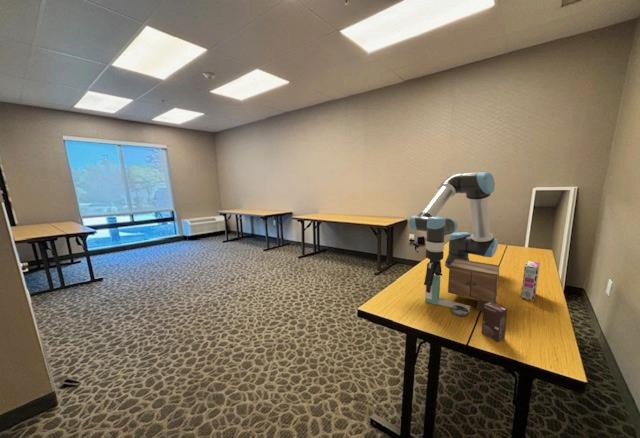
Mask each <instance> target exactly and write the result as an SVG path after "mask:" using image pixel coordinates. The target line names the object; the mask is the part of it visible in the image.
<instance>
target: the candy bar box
mask: <svg viewBox="0 0 640 438" xmlns="http://www.w3.org/2000/svg"><path fill="white" fill-rule="evenodd" d="M540 264H541V263H540V262H536V261H532V260H531V261H530V260H527V261H526V263H525V265H524V272H523V278H522V279H523V280H522V285H521V286H522V287H521V296H520V298H521V299H524V300H527V301H531V302H534V300H535V297H536V294H537V286H538V281H539V271H540V266H541V265H540Z"/></svg>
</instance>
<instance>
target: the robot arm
mask: <svg viewBox="0 0 640 438" xmlns="http://www.w3.org/2000/svg"><path fill="white" fill-rule="evenodd" d="M494 178H495V177H494V175H493V174H492V173H491V172H488V171H483V172H482V171H479V172H476V171H475V172H459V173H455V174H453V175H451V176H449V177H447V178H446V179H444V181H442V183H440V185H439V186H438V189H437V191H436V193H434V195H433V197H431V199H430V200H429V201H428V203H426V205H425V206H424V208H423V209H422V210H421V212H420V213H419V214H418V215H412V216H411V217H410V218H409V220H408V226H409V229H411V230H414V231H418V232H426V237H425V238H426V240H425V242H424V244H426V246H425V249H426V250H425V258H426V259H428V260H429V262H428V263H427V264H426V271H425V272H426V273H425V277H424V282H423V285H424V286H425V290H424V291H425V293H424V294H425V295H424V296H425V297H424V299H425V298H428V299H432V286H433V285H432V282H433V277H434V276H438V277H440V278H441V276H443V273H442V272H443V271H442V262H441V261H442V260H443V259H444V250H445V236H448V235H449V239H448V253H447V254H448V255H447V256H446V258H445V262H444V266H445V267H447V268H448V269H449V266H450V265H451V264H452V262H453V261H454V260H455V259H462V260H468V261H471V260H470V258H469V255H475V256H479V257H483V258H492V257H494V255H496V252H497V249H498V246H499V240H498V239H496V238H494V234H493V233H491V227H490V213H489V199H488V198H490V197H491V196H492V195H491V194H493V192H494V191H495V184H496V183H495V179H494ZM456 194H465V195H466V196H465V197H466V199H467V200H469V205H470V206H469V207H470V215H471V224H472V234H471V233H470V232H467V231H461V232H460V231H459V232H458V231H457V230H458V227H459V226H458V222H457V221H456V220H455V219H453V218H451V217H448V218H447V217H446V218H445V217H443V216H438V215H439V213H440V212H441V210H442V209H443V208H444V207H445V206H446V204H447V202H449V200H450V199H451V198H453V197H454V196H455V195H456ZM456 231H457V232H456Z"/></svg>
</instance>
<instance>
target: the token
mask: <svg viewBox="0 0 640 438" xmlns="http://www.w3.org/2000/svg"><path fill="white" fill-rule="evenodd" d="M451 314H453V315H454V316H456V317H460V318H467V317H468V314H469V312H468V310H467V309H466V308H465V307H462V306H453V307H452V308H451Z"/></svg>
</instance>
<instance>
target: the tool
mask: <svg viewBox="0 0 640 438" xmlns="http://www.w3.org/2000/svg"><path fill="white" fill-rule="evenodd" d="M432 285H433V286H432V299H428V298H425V297H424V299H425V301H424V302H425V303H429V304H432V305H437V306H438V305H440V306H443V307H447V308H451V309H452V307H453V306H462V307H465V308H466V309H467V310H468V313H470V311H471V305H467V304H464V303H460V302H456V301H454V300H453V301H452V300H448V299H444V298H441V297H440V291H441V288H440V287H441V276H440V277H438V276H434V277H433V282H432Z"/></svg>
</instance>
